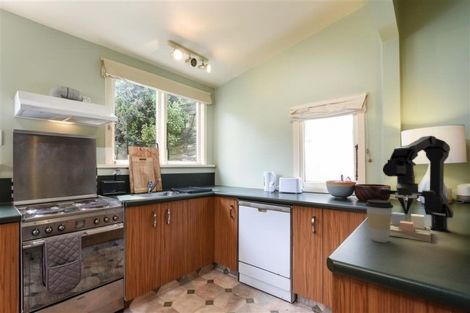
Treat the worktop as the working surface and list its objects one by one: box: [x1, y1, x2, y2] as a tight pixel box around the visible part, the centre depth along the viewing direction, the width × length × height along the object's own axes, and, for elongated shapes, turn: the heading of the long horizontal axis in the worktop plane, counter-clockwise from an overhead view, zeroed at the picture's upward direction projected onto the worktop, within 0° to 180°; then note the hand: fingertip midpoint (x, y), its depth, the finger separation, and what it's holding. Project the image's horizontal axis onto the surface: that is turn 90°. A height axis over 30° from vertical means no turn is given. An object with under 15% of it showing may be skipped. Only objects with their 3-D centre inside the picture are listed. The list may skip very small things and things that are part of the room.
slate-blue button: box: [391, 211, 406, 226], centre depth 108 cm, size 4×4×5 cm
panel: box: [389, 221, 432, 243], centre depth 102 cm, size 16×15×2 cm
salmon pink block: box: [400, 220, 414, 232], centre depth 99 cm, size 4×4×5 cm
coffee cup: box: [364, 199, 394, 243], centre depth 93 cm, size 9×9×15 cm
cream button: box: [410, 213, 426, 229], centre depth 103 cm, size 4×4×5 cm
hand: (406, 214), depth 99 cm, fingers closed
